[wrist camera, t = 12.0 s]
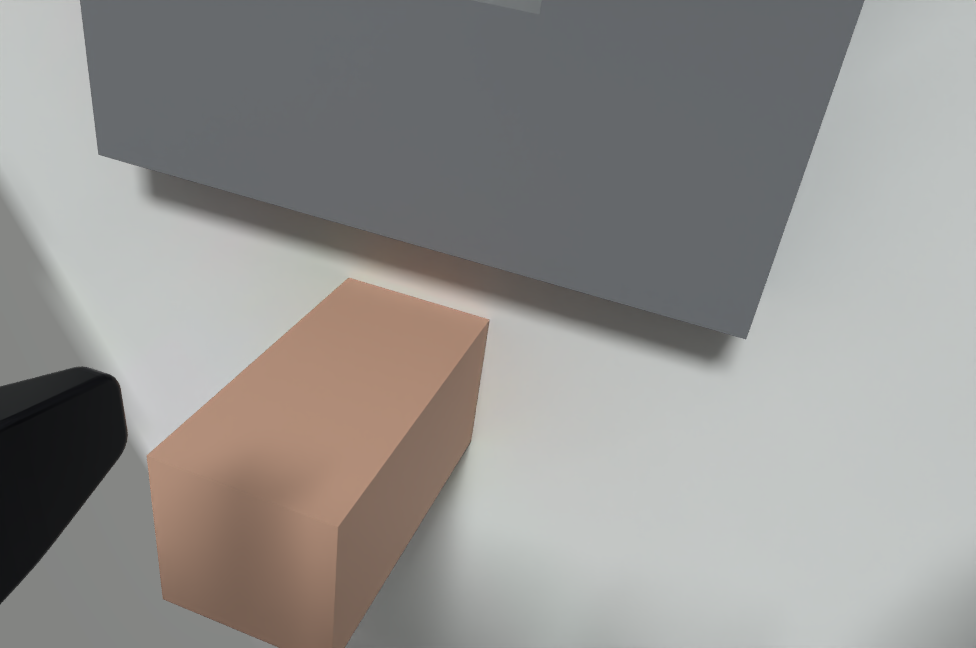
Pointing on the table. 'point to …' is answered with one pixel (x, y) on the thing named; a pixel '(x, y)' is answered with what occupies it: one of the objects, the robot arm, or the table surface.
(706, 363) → the table surface
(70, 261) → the table surface
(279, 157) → the pocket plate
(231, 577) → the tan rectangular block
